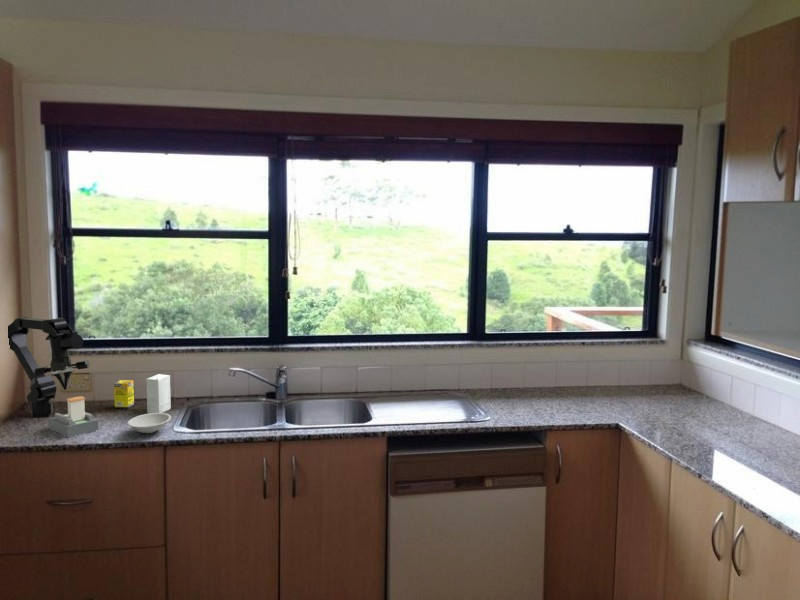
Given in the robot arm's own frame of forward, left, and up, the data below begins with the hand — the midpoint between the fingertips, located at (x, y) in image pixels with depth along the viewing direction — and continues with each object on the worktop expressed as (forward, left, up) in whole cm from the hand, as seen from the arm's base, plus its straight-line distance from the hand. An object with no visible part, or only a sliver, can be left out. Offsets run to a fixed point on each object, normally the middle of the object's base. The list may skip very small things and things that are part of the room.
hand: (65, 389), depth 251 cm
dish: (+34, -24, -12) cm, 43 cm away
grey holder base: (+6, -14, -12) cm, 20 cm away
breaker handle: (+7, -17, -8) cm, 20 cm away
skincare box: (+34, +4, -12) cm, 36 cm away
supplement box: (+19, +14, -12) cm, 27 cm away
